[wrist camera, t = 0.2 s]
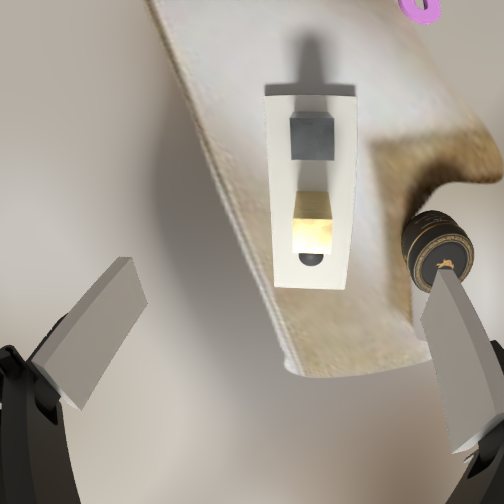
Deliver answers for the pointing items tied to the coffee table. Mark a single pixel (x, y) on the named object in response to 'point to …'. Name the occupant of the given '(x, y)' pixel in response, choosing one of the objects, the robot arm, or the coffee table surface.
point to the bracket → (421, 11)
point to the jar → (435, 248)
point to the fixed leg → (312, 136)
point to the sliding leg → (312, 222)
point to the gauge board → (311, 189)
